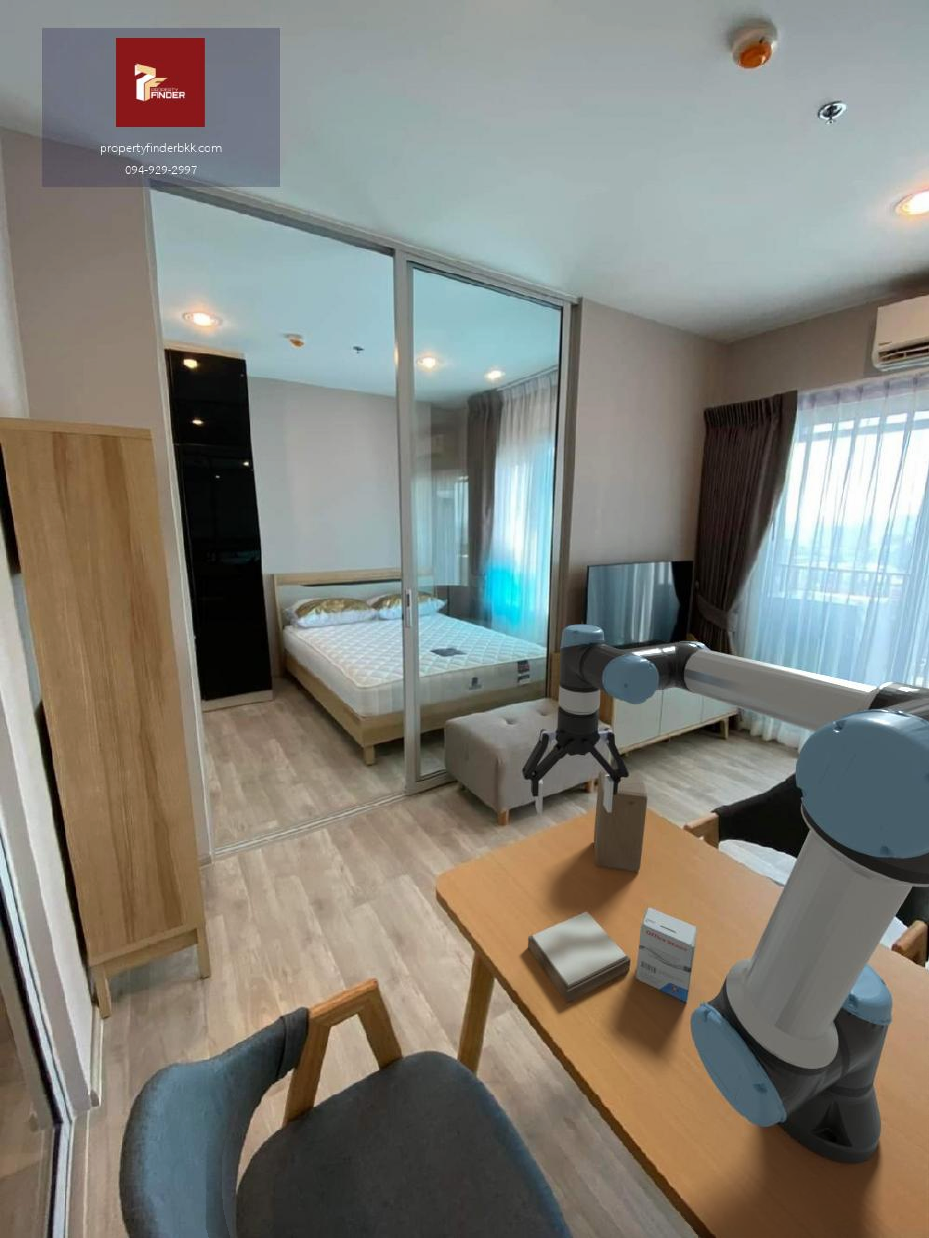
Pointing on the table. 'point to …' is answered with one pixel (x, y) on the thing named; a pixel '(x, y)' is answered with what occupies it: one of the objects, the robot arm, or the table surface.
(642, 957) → the ink box
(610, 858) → the wooden block
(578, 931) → the stand
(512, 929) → the table surface
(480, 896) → the table surface
